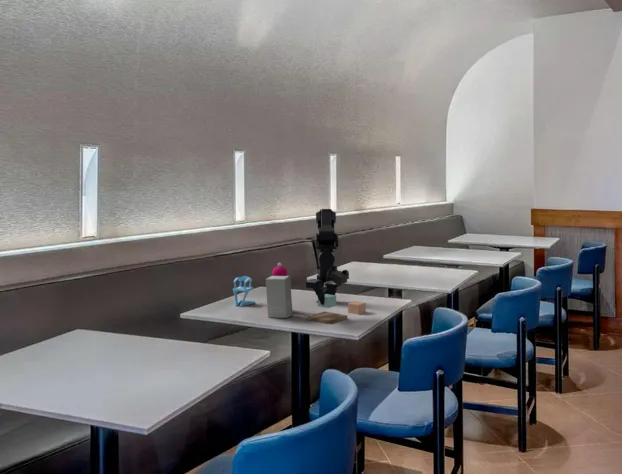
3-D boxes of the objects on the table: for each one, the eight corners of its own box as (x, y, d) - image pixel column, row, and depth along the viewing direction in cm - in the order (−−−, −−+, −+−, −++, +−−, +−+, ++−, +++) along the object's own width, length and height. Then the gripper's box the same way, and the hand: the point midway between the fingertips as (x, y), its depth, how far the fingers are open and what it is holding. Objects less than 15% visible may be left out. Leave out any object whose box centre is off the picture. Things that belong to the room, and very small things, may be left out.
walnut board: (306, 319, 230) (306, 316, 230) (324, 314, 239) (324, 311, 238) (329, 323, 223) (329, 320, 223) (347, 318, 231) (347, 315, 231)
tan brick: (348, 313, 241) (348, 303, 241) (355, 310, 245) (355, 301, 244) (358, 314, 238) (358, 305, 237) (365, 312, 242) (365, 302, 241)
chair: (230, 305, 257) (229, 277, 256) (239, 301, 265) (239, 274, 263) (246, 307, 254) (245, 278, 253) (255, 303, 262) (254, 275, 260)
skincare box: (292, 315, 238) (292, 275, 236) (286, 319, 231) (285, 278, 230) (273, 313, 241) (272, 274, 239) (265, 317, 234) (265, 277, 232)
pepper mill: (292, 310, 247) (291, 261, 245) (284, 313, 240) (283, 264, 238) (276, 308, 250) (276, 261, 248) (268, 312, 243) (267, 263, 241)
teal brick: (317, 306, 230) (317, 296, 230) (326, 304, 234) (326, 293, 233) (328, 308, 227) (328, 297, 226) (336, 305, 231) (336, 295, 230)
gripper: (327, 268, 216) (328, 310, 218) (358, 262, 231) (358, 302, 232) (304, 265, 224) (305, 306, 225) (335, 259, 238) (335, 298, 239)
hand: (327, 303), depth 230 cm, fingers closed on teal brick, 5 cm apart
